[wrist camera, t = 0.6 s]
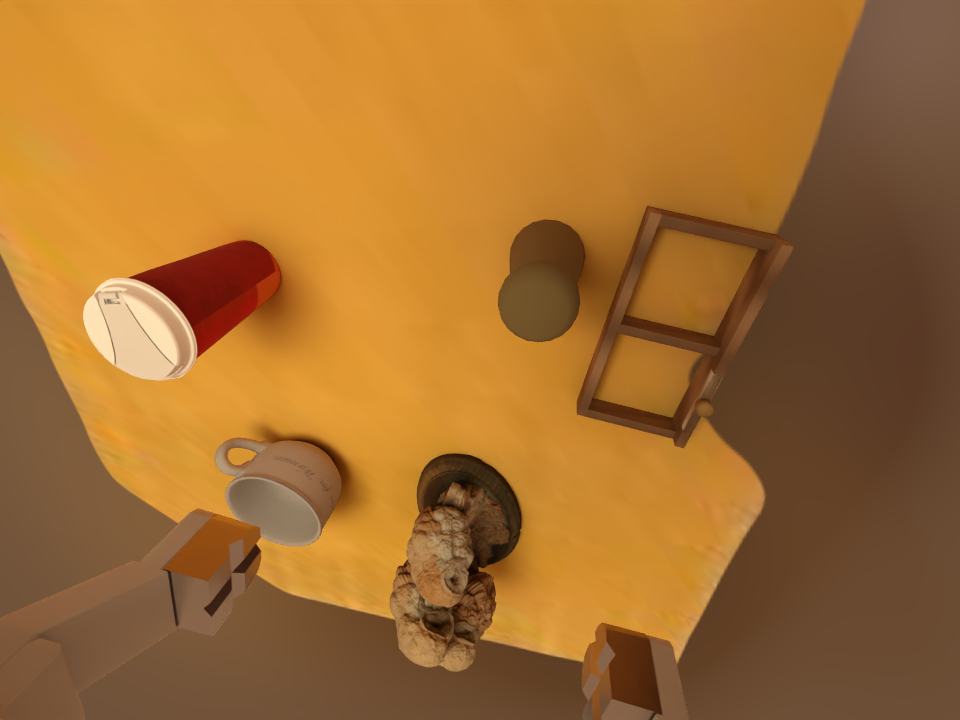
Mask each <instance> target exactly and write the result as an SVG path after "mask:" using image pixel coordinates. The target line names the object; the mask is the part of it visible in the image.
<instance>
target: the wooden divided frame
mask: <svg viewBox="0 0 960 720" xmlns="http://www.w3.org/2000/svg"><path fill="white" fill-rule="evenodd" d="M658 226H660V227H664V228H669V229H673V230H678V231H682V232H687V233H691V234H696V235H700V236H704V237H709V238H713V239H718V240H722V241H727V242H731V243H736V244H740V245H744V246H749V247H753V248H758V251H757V253H756V255H755V257H754V259H753V261H752V263H751V265H750V267H749V269H748V271H747V273H746V275H745V277H744V279H743V281H742V283H741V285H740V287H739V289H738V291H737V293H736V294H735V296H734V298H733V300H732V302H731V304H730V306H729V308H728V310H727V312H726V314H725V316H724V318H723V320H722V322H721V324H720V326H719V328H718V330H717V332H716V334H715V336H714V337H713V336H709V335H705V334H701V333H697V332H693V331H688V330H684V329H680V328H676V327H672V326H667V325H663V324H659V323H655V322H651V321H646V320H642V319H638V318H634V317H630V316H625V315H624V314H625V311H626V308H627V306H628V303H629V300H630V298H631V295H632V293H633V290H634V287H635V285H636V282H637V279H638V277H639V274H640V271H641V269H642V266H643V264H644V261H645V258H646V256H647V253H648V250H649V248H650V245H651V243H652V240H653V237H654V235H655V232H656V229H657V227H658ZM793 249H794V247H793V246H792V245H790V244H789V243H788V242H786V241H785V240H784V239H782V238H781V237H780V236H778V235H775V234H770V233H766V232H761V231H757V230H752V229H748V228H743V227H739V226H734V225H730V224H725V223H721V222H716V221H712V220H707V219H703V218H698V217H694V216H689V215H685V214H680V213H676V212H671V211H667V210H663V209H658V208H654V207H649V206H647V208H646V211H645V214H644V216H643V219H642V222H641V225H640V227H639V230H638V233H637V236H636V239H635V241H634V244H633V247H632V250H631V252H630V255H629V258H628V261H627V264H626V266H625V269H624V272H623V275H622V277H621V280H620V283H619V286H618V289H617V291H616V294H615V297H614V300H613V302H612V305H611V308H610V311H609V314H608V316H607V319H606V322H605V325H604V328H603V330H602V333H601V336H600V339H599V341H598V344H597V347H596V350H595V353H594V355H593V358H592V361H591V364H590V366H589V369H588V372H587V375H586V378H585V380H584V383H583V386H582V389H581V391H580V394H579V397H578V400H577V414H578V415H582V416H586V417H590V418H594V419H597V420H601V421H605V422H609V423H613V424H617V425H621V426H625V427H629V428H633V429H637V430H641V431H645V432H649V433H653V434H657V435H661V436H665V437H669V438H673V441H674V445H675V446H677V447H681V448H684V447H685V445H686V443H687V442H688V440H689V438H690V436H691V434H692V433H693V431H694V429H695V428H696V426H697V424H698V422H699V420H700V418H701V417H709V416H711V415H712V413H713V408H712V406H711V403H710V400H711V398H712V397H713V394H714V393H715V391H716V389H717V387H718V386H719V384H720V382H721V380H722V378H723V377H724V374H725V372H726V370H727V369H728V367H729V365H730V363H731V361H732V360H733V358H734V356H735V354H736V352H737V351H738V349H739V347H740V345H741V343H742V341H743V340H744V338H745V336H746V334H747V332H748V330H749V329H750V327H751V325H752V323H753V321H754V319H755V318H756V316H757V314H758V312H759V310H760V309H761V307H762V305H763V303H764V301H765V299H766V298H767V296H768V294H769V292H770V290H771V289H772V287H773V285H774V283H775V281H776V280H777V278H778V276H779V274H780V272H781V270H782V269H783V267H784V265H785V263H786V261H787V260H788V258H789V256H790V254H791V252H792V250H793ZM617 333H620V334H624V335H628V336H632V337H636V338H641V339H645V340H649V341H653V342H657V343H661V344H666V345H670V346H674V347H678V348H682V349H686V350H691V351H695V352H699V353H703V354H705V355H704V357H703V359H702V362H701V363H700V365H699V367H698V369H697V371H696V373H695V375H694V377H693V379H692V381H691V383H690V385H689V387H688V389H687V391H686V393H685V395H684V397H683V399H682V401H681V403H680V405H679V407H678V409H677V411H676V412H675V414H674V416H673V418H669V417H665V416H661V415H657V414H653V413H649V412H645V411H641V410H637V409H633V408H629V407H625V406H621V405H617V404H613V403H609V402H605V401H601V400H597V399H593V395H594V393H595V390H596V387H597V385H598V382H599V379H600V377H601V374H602V372H603V369H604V366H605V364H606V361H607V358H608V356H609V353H610V350H611V348H612V345H613V343H614V340H615V337H616V335H617Z"/></svg>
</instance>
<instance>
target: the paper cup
mask: <svg viewBox="0 0 960 720" xmlns="http://www.w3.org/2000/svg"><path fill="white" fill-rule="evenodd" d="M280 281H281V275H280V270H279V267H278V264H277V262H276V261H275V259H274V258H273V256H272V255H271V254H270V253H269V252H268V251H267V250H266V249H265V248H264V247H262V246H261V245H259V244H257V243H254V242H252V241H246V240H242V241H236V242H232V243H229V244H226V245H223V246H220V247H217V248H214V249H211V250H208V251H205V252H202V253H199V254H196V255H193V256H190V257H188V258H185V259H182V260H179V261H176V262H172V263H169V264H166V265H163V266H160V267H157V268H154V269H151V270H148V271H145V272H142V273H140V274H137V275H134V276H132V277H129V278H113V279H110V280H107V281H105V282H104V283H102V284H101V285H100V286H99V287H98V288H97V289H96V291H95V293H94V294H93V295H92V296H91V297H90V298H89V299H88V301H87V303H86V305H85V307H84V312H83V319H84V324H85V328H86V330H87V333H88V335H89V337H90V339H91V341H92V342H93V344H94V345H95V347H96V348H97V349H98V350H99V352H100V353H101V354H102V355H103V356H104V357H105V358H106V359H107V360H108V361H109V362H111V363H112V364H113V365H114V366H116V367H118V368H120V369H121V370H123V371H125V372H127V373H129V374H131V375H133V376H136V377H138V378H142V379H151V380H167V379H175V378H179V377H182V376H183V375H184V374H185V373H186V372H188V371H189V370H190V369H191V368H192V367H193V365H194V363H195V361H196V358H198V357H199V356H200V355H201V354H203V353H204V352H205V351H206V350H207V349H209V348H210V347H211V346H212V345H213V344H215V343H216V342H217V341H218V340H220V339H221V338H222V337H223V336H224V335H226V334H227V333H228V332H229V331H231V330H232V329H233V328H234V327H235V326H237V325H238V324H239V323H240V322H241V321H243V320H244V319H245V318H246V317H247V316H249V315H250V314H251V313H252V312H253V311H255V310H256V309H257V308H258V307H259V306H261V305H262V304H263V303H264V302H265V301H266V300H268V299H269V298H270V297H271V296H272V295H273V294H274V293H275V292H276V291H277V289H278V288H279V285H280Z"/></svg>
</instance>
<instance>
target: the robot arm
mask: <svg viewBox="0 0 960 720" xmlns="http://www.w3.org/2000/svg"><path fill="white" fill-rule="evenodd" d="M260 538H261V534H260V527H257V526H254V525H251V524H248V523H245V522H241V521H238V520H235V519H232V518H228V517H225V516H222V515H219V514H216V513H212V512H209V511H205V510H202V509H196V510H194V511H192V512H190V513H189V514H188V515H187V516H186V517H185V518H184V519H183V520H182V521H181V522H180V523H179V524H178V525H177V526H176V527H175V528H174V529H173V530H172V531H171V532H170V533H169V534H167V536H165V537H164V538H163V540H162V541H160V542H159V543H158V544H157V545H156V546H155V547H154V548H153V549H152V550H151V551H150V552H149V553H148V554H147V555H146V556H145V557H144V558H143V559H142V560H141V561H140V562H139V563H137V562H134V561H132V562H130V563H127V564H125V565H122V566H120V567H118V568H116V569H113V570H111V571H109V572H106V573H104V574H101V575H99V576H97V577H94V578H92V579H90V580H87V581H85V582H83V583H80V584H78V585H76V586H73V587H71V588H69V589H66V590H64V591H61V592H59V593H57V594H54V595H52V596H50V597H48V598H45V599H43V600H40V601H38V602H36V603H33V604H31V605H29V606H26V607H24V608H22V609H19V610H17V611H15V612H12V613H10V614H8V615H5V616H3V617H1V618H0V720H84V711H83V708H82V705H81V702H80V699H79V697H78V694H77V693H78V692H80V691H82V690H83V689H85V688H86V687H88V686H90V685H91V684H93V683H94V682H96V681H97V680H99V679H100V678H102V677H104V676H105V675H107V674H108V673H110V672H111V671H113V670H114V669H116V668H118V667H119V666H121V665H122V664H123V663H125V662H126V661H128V660H130V659H131V658H133V657H135V656H136V655H138V654H139V653H141V652H142V651H144V650H145V649H147V648H148V647H150V646H151V645H153V644H155V643H156V642H158V641H159V640H161V639H162V638H164V637H165V636H167V635H169V634H170V633H172V632H173V631H175V630H176V627H179V628H183V629H187V630H191V631H194V632H198V633H202V634H206V635H209V636H214V635H215V634H216V632H217V631H218V629H219V628H220V627H221V625H222V624H223V622H224V621H225V620H226V618H227V617H228V615H229V614H230V613H231V611H232V610H233V598H235V597H237V596H239V595H240V594H242V593H244V592H246V590H247V589H248V587H249V586H250V584H251V583H252V581H253V580H254V577H255V575H256V573H257V571H258V569H259V565H260V561H261V550H260V549H259V547H258V546H257V545H256V543H257V542H258V540H259V539H260ZM595 636H596V641H595V642H593V643H591V644H589V646H588V648H587V651H586V653H585V657H584V662H583V668H582V690H583V692H584V694H585V696H586V698H587V699H588V703H587V705H586V707H585V709H584V711H583V720H689V718H688V713H687V709H686V704H685V700H684V696H683V691H682V687H681V682H680V677H679V673H678V669H677V664H676V659H675V655H674V651H673V647H672V645H671V643H670V642H669V641H667V640H663V639H660V638H656V637H652V636H649V635H645V634H644V633H640V632H636V631H632V630H629V629H625V628H621V627H617V626H614V625H610V624H606V623H601V624H599V626H598V628H597V630H596V632H595Z"/></svg>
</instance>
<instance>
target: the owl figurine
mask: <svg viewBox="0 0 960 720" xmlns="http://www.w3.org/2000/svg"><path fill="white" fill-rule="evenodd" d="M417 504H418V508H419V512H420V514H419V516H418V518H417V519H416V520H415V523H414V528H413V531H412V537H411V539H410V540H409V542H408V546H407V557H408V560H407V561H406V562H405V563H404V566H399V567H398V568H397V571H396V578H395V580H394V583H393V588H394V591H393V592H392V594H391V597H390V609H391V612H392V614H393V616H394V618H395V619H396V627H397V637H398V640H399V648H400V650H402V652H403V653H404V654H405V656H406V657H407V658H408V659H410V660H411V661H413V662H414V663H416V664H418V665H421V666H425V667H434V666H437V665H440V666H443V667H444V668H446V669H448V670H449V671H455V672H456V671H461V670H463V669H467V668H468V667H469V665H470V664H472V662H473V660H474V658H475V655H476V647H477V646H476V643H477V641H478V639H480V637H481V636H482V635H483V634H484V630H486V629H487V628H489V626H490V625H491V623H492V616H493V613H494V611H495V608H496V602H495V596H496V593H495V586H494V583H493V582H492V581H493V577H492V576H490V575H489V574H487V573H486V572H479V570H478V567H481V568H484V567H487V565H491V564H494V563H496V562H498V561H500V560H501V559H503V558H505V557H507V556H508V555H509V554H510V553H511V552H512V550H513V549H514V548H515V546H516V544H517V542H518V538H519V534H520V532H519V531H520V529H521V514H520V510H519V507H518V502H517V499H516V498H515V496H514V494H513V492H512V490H511V488H510V487H509V485H508V483H507V482H506V481H505V480H504V478H503V477H502V476H501V475H500V474H499V473H498V472H497V471H496V470H494V469H493V468H492V467H490V466H488V465H486V464H484V465H483V464H482V463H481V460H479V459H477V458H475V457H472V456H469V455H460V454H446V455H442V456H439V457H437V458H435V459H433V460H431V461H430V462H429V463H428V464H427V465H426V467H425V468H424V470H423V472H422V474H421V476H420V479H419V482H418V487H417ZM516 535H517V536H516ZM515 536H516V537H515ZM514 537H515V538H514Z"/></svg>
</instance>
